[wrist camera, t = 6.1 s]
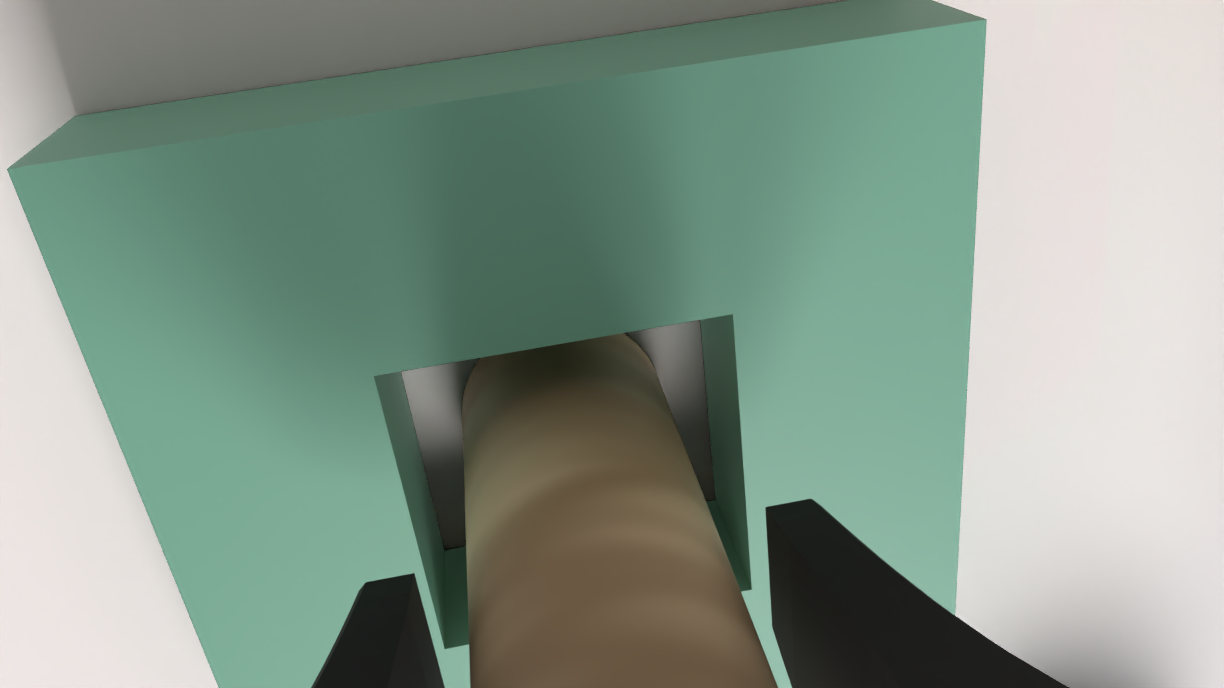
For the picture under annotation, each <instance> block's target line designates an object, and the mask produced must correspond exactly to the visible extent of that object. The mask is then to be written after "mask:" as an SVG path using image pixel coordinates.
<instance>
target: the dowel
mask: <svg viewBox="0 0 1224 688" xmlns="http://www.w3.org/2000/svg"><path fill="white" fill-rule="evenodd" d="M462 423H463V457H464V490H465V524H466V557H467V591H468V624H469V658H470V688H778V686H777V683H776V681H775V678H774V676H773V673H772V670H771V668H770V665H769V663H768V660H767V657H766V655H765V652H764V650H763V647H762V645H761V642H760V639H759V637H758V634H757V632H756V629H755V627H754V624H753V621H752V619H751V616H750V614H749V611H748V609H747V606H746V603H745V601H744V598H743V596H742V593H741V591H740V588H739V585H738V583H737V580H736V578H735V575H734V573H733V570H732V567H731V565H730V562H729V560H728V557H727V554H726V552H725V549H724V547H723V544H722V542H721V539H720V536H719V534H718V531H717V529H716V526H715V524H714V521H713V518H712V516H711V513H710V511H709V508H708V506H707V503H706V500H705V498H704V495H703V493H702V490H701V488H700V485H699V482H698V480H697V477H696V475H695V472H694V469H693V467H692V464H691V462H690V459H689V457H688V454H687V451H686V449H685V446H684V444H683V441H682V439H681V436H680V433H679V431H678V428H677V426H676V423H675V421H674V418H673V415H672V413H671V410H670V408H669V405H668V403H667V400H666V397H665V395H664V392H663V390H662V387H661V384H660V382H659V379H658V377H657V374H656V372H655V369H654V367H653V365H652V363H651V361H650V360H649V358H648V356H647V355H646V354H645V352H644V351H643V350H642V349H641V347H640V346H639V345H638V344H637V343H635V342H634V341H633V340H632V339H631V338H630V337H628V336H627V335H625V334H624V333H621V334H615V335H609V336H603V337H598V338H592V339H586V340H580V341H574V342H569V343H563V344H557V345H551V346H545V347H540V348H534V349H528V350H522V351H516V352H511V353H505V354H499V355H493V356H487V357H482V358H480V359H479V360H478V362H477V363H476V365H475V367H474V368H473V370H472V372H471V374H470V376H469V378H468V381H467V383H466V387H465V390H464V394H463V402H462Z"/></svg>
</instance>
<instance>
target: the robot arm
mask: <svg viewBox="0 0 1224 688" xmlns="http://www.w3.org/2000/svg"><path fill="white" fill-rule="evenodd" d="M765 511H766V528H767V545H768V563H769V580H770V597H771V615H772V628H773V631H774V634H775V637H776V641H777V644H778V647H779V650H780V653H781V656H782V659H783V662H784V665H785V668H786V671H787V674H788V677H789V680H790V683H791V686H792V688H1069V687H1067V686H1065V685H1063V684H1062V683H1060V682H1058V681H1056V680H1055V679H1053V678H1051V677H1050V676H1048V675H1046V674H1044V673H1043V672H1041V671H1039V670H1038V669H1036V668H1034V667H1033V666H1031V665H1029V664H1028V663H1026V662H1024V661H1022V660H1021V659H1019V658H1017V657H1016V656H1014V655H1012V654H1011V653H1009V652H1007V651H1006V650H1004V649H1003V648H1001V647H1000V646H998V645H997V644H995V643H994V642H992V641H991V640H989V639H988V638H986V637H985V636H983V635H982V634H980V633H979V632H978V631H976V630H975V629H973V628H972V627H970V626H969V625H968V624H966V623H965V622H963V621H962V620H960V619H959V618H958V617H956V616H955V615H953V614H952V613H951V612H949V611H948V610H947V609H945V608H944V607H943V606H941V605H940V604H938V603H937V602H936V601H934V600H933V599H932V598H931V597H929V596H928V595H927V594H925V593H924V592H923V591H922V590H920V589H919V588H918V587H916V586H915V585H914V584H913V583H911V582H910V581H909V580H908V579H906V578H905V577H904V576H902V575H901V574H900V573H899V572H897V571H896V570H895V569H894V568H892V567H891V566H890V565H889V564H888V563H886V562H885V561H884V560H883V559H882V558H880V557H879V556H878V555H877V554H876V553H874V552H873V551H872V550H871V549H870V548H869V547H867V546H866V545H865V544H864V543H863V542H862V541H860V540H859V539H858V538H857V537H856V536H855V535H854V534H852V533H851V532H850V531H849V530H848V529H847V528H846V527H844V526H843V525H842V524H841V523H840V522H839V521H838V520H837V519H835V518H834V517H833V516H832V515H831V514H830V513H829V512H828V511H826V510H825V509H824V508H823V507H822V506H821V505H820V504H818V503H817V502H816V501H814V500H813V499H806V500H800V501H795V502H790V503H784V504H779V505H774V506H768V507H765ZM311 688H445V686H444V683H443V679H442V675H441V671H440V668H439V664H438V660H437V656H436V653H435V649H434V645H433V641H432V638H431V634H430V630H429V626H428V623H427V619H426V615H425V611H424V607H423V604H422V600H421V596H420V592H419V589H418V585H417V581H416V577H415V574H414V573H412V574H407V575H401V576H396V577H391V578H385V579H380V580H375V581H369V582H366V583H365V584H364V585H363V586H362V588H361V589H360V590H359V592H358V594H357V596H356V598H355V601H354V603H353V605H352V607H351V610H350V612H349V614H348V616H347V618H346V620H345V622H344V625H343V627H342V629H341V631H340V633H339V635H338V637H337V639H336V641H335V643H334V645H333V647H332V649H331V651H330V653H329V655H328V657H327V659H326V661H325V663H324V665H323V667H322V669H321V670H320V672H319V674H318V676H317V678H316V680H315V681H314V683H313V685H312V687H311Z"/></svg>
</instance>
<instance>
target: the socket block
mask: <svg viewBox="0 0 1224 688" xmlns="http://www.w3.org/2000/svg"><path fill="white" fill-rule="evenodd" d="M986 20H987V19H984V18H981V17H978V16H975V15H972V14H969V13H967V12H964V11H961V10H958V9H955V8H952V7H949V6H947V5H944V4H941V3H938V2H935V1H932V0H847V1H841V2H834V3H827V4H821V5H814V6H807V7H801V8H794V9H787V10H781V11H774V12H767V13H761V14H754V15H747V16H740V17H734V18H727V19H720V20H714V21H707V22H700V23H694V24H687V25H680V26H674V27H667V28H660V29H654V30H647V31H640V32H634V33H627V34H620V35H613V36H607V37H600V38H593V39H587V40H580V41H573V42H567V43H560V44H553V45H547V46H540V47H533V48H527V49H520V50H513V51H507V52H500V53H493V54H487V55H480V56H473V57H466V58H460V59H453V60H446V61H440V62H433V63H426V64H420V65H413V66H406V67H400V68H393V69H386V70H380V71H373V72H366V73H360V74H353V75H346V76H339V77H333V78H326V79H319V80H313V81H306V82H299V83H293V84H286V85H279V86H273V87H266V88H259V89H253V90H246V91H239V92H233V93H226V94H219V95H213V96H206V97H199V98H192V99H186V100H179V101H172V102H166V103H159V104H152V105H146V106H139V107H132V108H126V109H119V110H112V111H106V112H99V113H92V114H86V115H79V116H75V117H73V118H72V119H71V120H70V121H68V122H67V123H66V124H64V125H63V126H62V127H61V128H59V129H58V130H57V131H55V132H54V133H53V134H52V135H50V136H49V137H48V138H46V139H45V140H44V141H43V142H41V143H40V144H39V145H37V146H36V147H35V148H33V149H32V150H31V151H30V152H28V153H27V154H26V155H24V156H23V157H22V158H21V159H19V160H18V161H17V162H15V163H14V164H13V165H12V166H10V167H9V168H8V169H7V170H8V173H9V175H10V178H11V180H12V183H13V185H14V187H15V190H16V192H17V195H18V197H19V200H20V202H21V205H22V207H23V210H24V212H25V214H26V217H27V219H28V222H29V224H30V227H31V229H32V232H33V234H34V236H35V239H36V241H37V244H38V246H39V249H40V251H41V254H42V256H43V259H44V261H45V263H46V266H47V268H48V271H49V273H50V276H51V278H52V281H53V283H54V285H55V288H56V290H57V293H58V295H59V298H60V300H61V303H62V305H63V307H64V310H65V312H66V315H67V317H68V320H69V322H70V325H71V327H72V330H73V332H74V334H75V337H76V339H77V342H78V344H79V347H80V349H81V352H82V354H83V356H84V359H85V361H86V364H87V366H88V369H89V371H90V374H91V376H92V379H93V381H94V383H95V386H96V388H97V391H98V393H99V396H100V398H101V401H102V403H103V405H104V408H105V410H106V413H107V415H108V418H109V420H110V423H111V425H112V428H113V430H114V432H115V435H116V437H117V440H118V442H119V445H120V447H121V450H122V452H123V454H124V457H125V459H126V462H127V464H128V467H129V469H130V472H131V474H132V476H133V479H134V481H135V484H136V486H137V489H138V491H139V494H140V496H141V499H142V501H143V503H144V506H145V508H146V511H147V513H148V516H149V518H150V521H151V523H152V525H153V528H154V530H155V533H156V535H157V538H158V540H159V543H160V545H161V548H162V550H163V552H164V555H165V557H166V560H167V562H168V565H169V567H170V570H171V572H172V574H173V577H174V579H175V582H176V584H177V587H178V589H179V592H180V594H181V596H182V599H183V601H184V604H185V606H186V609H187V611H188V614H189V616H190V619H191V621H192V623H193V626H194V628H195V631H196V633H197V636H198V638H199V641H200V643H201V645H202V648H203V650H204V653H205V655H206V658H207V660H208V663H209V665H210V668H211V670H212V672H213V675H214V677H215V680H216V682H217V685H218V687H219V688H311V687H312V685H313V683H314V681H315V680H316V678H317V676H318V674H319V672H320V670H321V669H322V667H323V665H324V663H325V661H326V659H327V657H328V655H329V653H330V651H331V649H332V647H333V645H334V643H335V641H336V639H337V637H338V635H339V633H340V631H341V629H342V627H343V625H344V622H345V620H346V618H347V616H348V614H349V612H350V610H351V607H352V605H353V603H354V601H355V598H356V596H357V594H358V592H359V590H360V589H361V588H362V586H363V585H364V584H365V583H366V582H369V581H375V580H380V579H385V578H391V577H396V576H401V575H407V574H412V573H414V574H415V577H416V581H417V585H418V589H419V592H420V596H421V600H422V604H423V607H424V611H425V615H426V619H427V623H428V626H429V630H430V634H431V638H432V641H433V645H434V649H435V653H436V656H437V660H438V664H439V668H440V671H441V675H442V679H443V683H444V686H445V688H470V658H469V624H468V591H467V557H466V547H461V548H455V549H450V550H444V546H443V542H442V538H441V534H440V530H439V526H438V522H437V518H436V514H435V510H434V505H433V501H432V497H431V493H430V489H429V485H428V481H427V477H426V473H425V469H424V465H423V461H422V456H421V452H420V448H419V444H418V440H417V436H416V432H415V428H414V424H413V420H412V416H411V412H410V407H409V403H408V399H407V395H406V391H405V387H404V383H403V379H402V375H401V371H406V370H412V369H418V368H424V367H429V366H435V365H441V364H447V363H453V362H458V361H464V360H470V359H476V358H482V357H487V356H493V355H499V354H505V353H511V352H516V351H522V350H528V349H534V348H540V347H545V346H551V345H557V344H563V343H569V342H574V341H580V340H586V339H592V338H598V337H603V336H609V335H615V334H621V333H627V332H632V331H638V330H644V329H650V328H656V327H661V326H667V325H673V324H679V323H684V322H690V321H696V320H700V325H701V337H702V348H703V360H704V372H705V384H706V395H707V407H708V419H709V430H710V442H711V454H712V465H713V477H714V489H715V500H712V501H707V502H706V503H707V506H708V508H709V511H710V513H711V516H712V518H713V521H714V524H715V526H716V529H717V531H718V534H719V536H720V539H721V542H722V544H723V547H724V549H725V552H726V554H727V557H728V560H729V562H730V565H731V567H732V570H733V573H734V575H735V578H736V580H737V583H738V585H739V588H740V591H741V593H742V596H743V598H744V601H745V603H746V606H747V609H748V611H749V614H750V616H751V619H752V621H753V624H754V627H755V629H756V632H757V634H758V637H759V639H760V642H761V645H762V647H763V650H764V652H765V655H766V657H767V660H768V663H769V665H770V668H771V670H772V673H773V676H774V678H775V681H776V683H777V686H778V688H792V686H791V683H790V680H789V677H788V674H787V671H786V668H785V665H784V662H783V659H782V656H781V653H780V650H779V647H778V644H777V641H776V637H775V634H774V631H773V628H772V615H771V597H770V580H769V563H768V545H767V528H766V511H765V507H768V506H774V505H779V504H784V503H790V502H795V501H800V500H806V499H813V500H814V501H816V502H817V503H818V504H820V505H821V506H822V507H823V508H824V509H825V510H826V511H828V512H829V513H830V514H831V515H832V516H833V517H834V518H835V519H837V520H838V521H839V522H840V523H841V524H842V525H843V526H844V527H846V528H847V529H848V530H849V531H850V532H851V533H852V534H854V535H855V536H856V537H857V538H858V539H859V540H860V541H862V542H863V543H864V544H865V545H866V546H867V547H869V548H870V549H871V550H872V551H873V552H874V553H876V554H877V555H878V556H879V557H880V558H882V559H883V560H884V561H885V562H886V563H888V564H889V565H890V566H891V567H892V568H894V569H895V570H896V571H897V572H899V573H900V574H901V575H902V576H904V577H905V578H906V579H908V580H909V581H910V582H911V583H913V584H914V585H915V586H916V587H918V588H919V589H920V590H922V591H923V592H924V593H925V594H927V595H928V596H929V597H931V598H932V599H933V600H934V601H936V602H937V603H938V604H940V605H941V606H943V607H944V608H945V609H947V610H948V611H949V612H951V613H952V614H953V615H955V607H956V588H957V569H958V550H959V531H960V512H961V493H962V474H963V455H964V437H965V418H966V399H967V380H968V361H969V342H970V323H971V304H972V285H973V266H974V247H975V228H976V209H977V190H978V171H979V152H980V133H981V114H982V95H983V76H984V57H985V38H986Z"/></svg>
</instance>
